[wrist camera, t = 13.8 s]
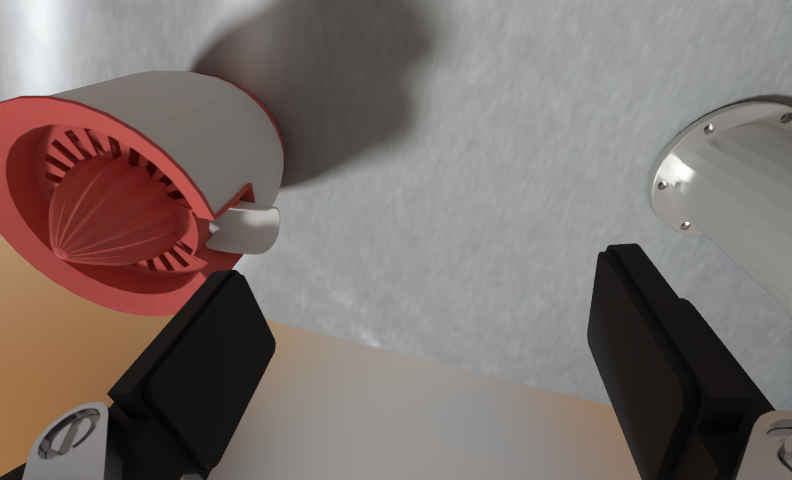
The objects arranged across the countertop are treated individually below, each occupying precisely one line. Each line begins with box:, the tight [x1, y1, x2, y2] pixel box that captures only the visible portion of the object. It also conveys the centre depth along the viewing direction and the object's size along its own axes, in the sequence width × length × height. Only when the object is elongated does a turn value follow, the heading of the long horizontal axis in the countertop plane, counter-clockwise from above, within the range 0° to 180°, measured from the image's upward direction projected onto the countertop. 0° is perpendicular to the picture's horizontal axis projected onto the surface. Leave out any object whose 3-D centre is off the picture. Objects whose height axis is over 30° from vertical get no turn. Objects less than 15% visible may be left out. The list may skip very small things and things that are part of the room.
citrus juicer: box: [0, 71, 285, 316], centre depth 29 cm, size 16×17×20 cm
